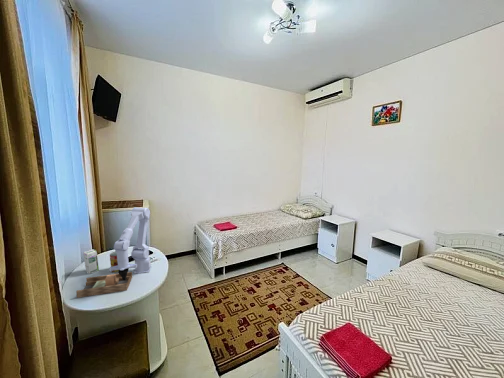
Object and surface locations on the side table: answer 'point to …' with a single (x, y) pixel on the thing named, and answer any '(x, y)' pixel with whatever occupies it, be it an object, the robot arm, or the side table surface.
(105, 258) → the side table surface
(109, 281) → the terracotta block
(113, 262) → the canned food
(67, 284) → the side table surface
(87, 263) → the syrup box
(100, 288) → the trap lane
